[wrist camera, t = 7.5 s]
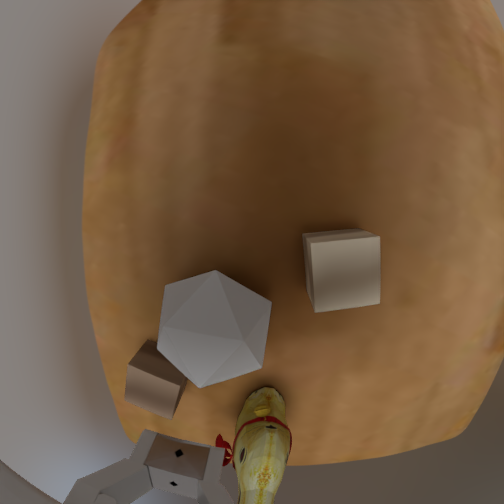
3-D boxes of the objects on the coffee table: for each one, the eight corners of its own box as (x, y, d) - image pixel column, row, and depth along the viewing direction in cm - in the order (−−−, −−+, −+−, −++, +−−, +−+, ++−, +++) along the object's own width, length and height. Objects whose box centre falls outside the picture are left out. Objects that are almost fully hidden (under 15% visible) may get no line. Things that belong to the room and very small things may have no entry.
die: (160, 272, 25) (126, 372, 19) (212, 223, 20) (172, 358, 13) (232, 311, 29) (214, 404, 22) (295, 278, 23) (288, 397, 17)
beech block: (302, 233, 23) (310, 243, 19) (358, 228, 23) (379, 236, 18) (306, 290, 24) (314, 312, 19) (360, 283, 24) (379, 303, 19)
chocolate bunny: (297, 378, 26) (311, 505, 11) (273, 443, 28) (272, 546, 14) (230, 368, 26) (201, 494, 12) (218, 434, 29) (196, 536, 14)
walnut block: (148, 338, 26) (127, 364, 21) (193, 356, 26) (180, 385, 22) (142, 373, 27) (124, 400, 23) (184, 390, 27) (171, 420, 23)
